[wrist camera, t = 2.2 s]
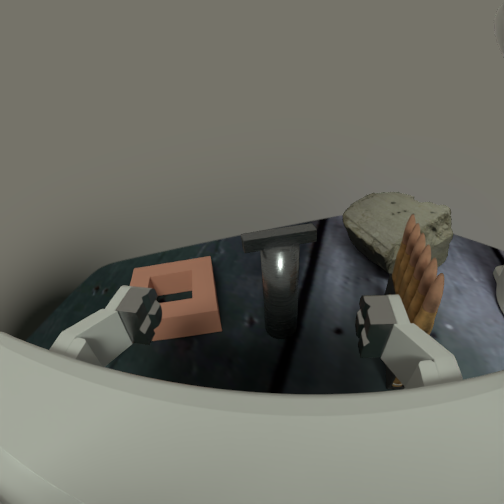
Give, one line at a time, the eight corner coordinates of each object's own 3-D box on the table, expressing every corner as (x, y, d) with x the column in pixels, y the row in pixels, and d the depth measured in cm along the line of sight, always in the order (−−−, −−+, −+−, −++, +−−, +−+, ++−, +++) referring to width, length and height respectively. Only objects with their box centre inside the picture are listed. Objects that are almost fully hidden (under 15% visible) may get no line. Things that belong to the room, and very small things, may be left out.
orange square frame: (213, 275, 37) (210, 256, 36) (222, 331, 29) (217, 310, 27) (140, 287, 36) (134, 268, 35) (131, 343, 28) (121, 323, 26)
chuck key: (304, 311, 31) (307, 218, 25) (313, 331, 28) (321, 235, 22) (249, 322, 30) (239, 228, 24) (255, 344, 27) (245, 247, 21)
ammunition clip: (380, 308, 30) (401, 208, 23) (395, 309, 29) (419, 210, 23) (386, 389, 21) (433, 282, 15) (405, 389, 21) (458, 283, 14)
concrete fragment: (399, 291, 28) (334, 181, 33) (371, 308, 38) (323, 219, 43) (476, 240, 29) (416, 151, 34) (441, 264, 39) (395, 188, 44)
